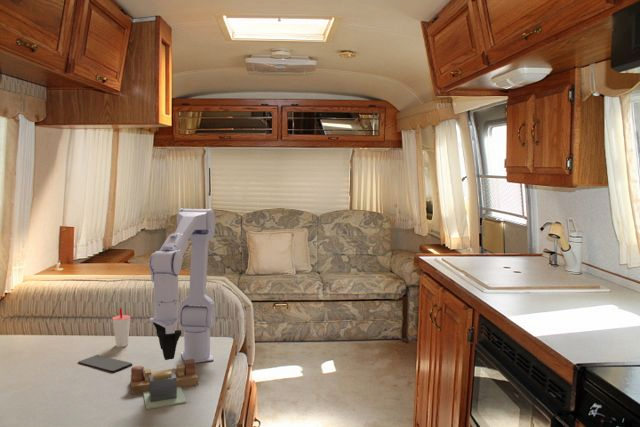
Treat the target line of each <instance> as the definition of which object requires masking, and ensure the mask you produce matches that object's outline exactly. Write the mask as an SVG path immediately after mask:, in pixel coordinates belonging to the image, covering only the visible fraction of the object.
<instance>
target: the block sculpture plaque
mask: <svg viewBox="0 0 640 427" xmlns="http://www.w3.org/2000/svg"><path fill="white" fill-rule="evenodd" d="M183 362H184V365H183V363H179V364H178V363H177V364H176V368H171V369H162V370H155V371H152V370H151V367H148V368H144V367H145V366H143V365H135V366H133V367H132V366H131V368H130V371H131V372H130V386H131V393H132V394H131V395H138V394H143V392H148V391H149V375H154V374H156V373H163V372H170V371H171V372H175V375H176V378H177V387H181V388H184V387H185V388H186V387H191V386H198V385H199V376H198V372H197V371H196V363H195V361H194V359H190V360H184V359H183Z"/></svg>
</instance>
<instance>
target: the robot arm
mask: <svg viewBox="0 0 640 427" xmlns="http://www.w3.org/2000/svg"><path fill="white" fill-rule="evenodd" d="M216 222H217V221H216V213H215V211H214V209H212V208H180V209H179V210H178V211H177V214H176V226H177V227H176V229H175V231H174V232H173V233H170V234H169V235H168V236H167V237H166V239H165V241H164V243H163V244H162V246H161V248H160V249H159V250H156V251H155V252H153V253H152V254H151V255H150V257H149V262H148V268H149V273H150V277H151V278H150V279H151V282H152V283H153V305H154V306H153V309H154V310H153V313H154V314H153V315H154V316H153V317H150V318H149V319H148V321H149V323H152V324H153V325H154V327H155V328H154V329H155V331H156V332H155V334H156V336H157V337H158V341H159V346H160V349H161V350H162V355H163V359H164V360H165V361H169V360H174V359H175V356H176V355H175V354H176V351H177V349H176V348H177V345H178V341H179V339H180V337H181V336H182V331H184V333H183V334H184V336H183V337H184V338H183V341H184V344H183V346H184V349H183V350H184V351H181V352H180V354H181V357H182V359H183V361H184V360H190V359H194V361H195V364H196V363H203V362H204V363H205V362H209V361H214V356H213V355H212V354H211V332H210V331H211V329H212V328H213V327H214V326H215V323H216V319H217V318H216V317H217V316H216V314H217V312H216V303H215V301H214V300H213V299H212V298H211V297H210V296H208V295H207V280H208V279H207V276H208V256H209V255H208V254H209V243H210V239H212V238H214V237H215V234H216V233H215V232H216ZM189 240H190V242H191V252H190V254H191V255H190V269H189V270H190V271H189V289H188V295H187V296H186V297H185V298H183V299H182V300H181V301H180V303H179V274H180V273H181V270H182V267H183V266H182V265H183V260H184V258H183V257H184V256H185V254H186V252H187V249H188V248H189ZM177 324H178V325H179V326H180V328H182V330H181V329H177V330H176V328H175V327H176V325H177Z"/></svg>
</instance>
